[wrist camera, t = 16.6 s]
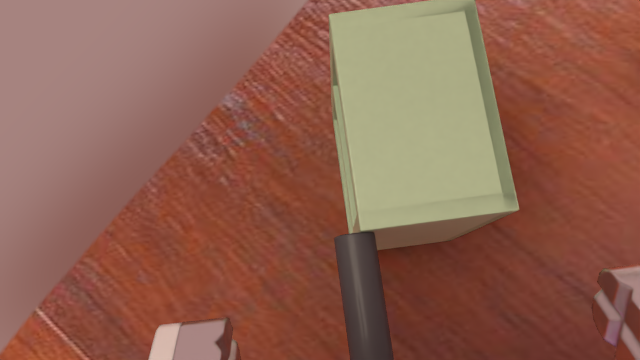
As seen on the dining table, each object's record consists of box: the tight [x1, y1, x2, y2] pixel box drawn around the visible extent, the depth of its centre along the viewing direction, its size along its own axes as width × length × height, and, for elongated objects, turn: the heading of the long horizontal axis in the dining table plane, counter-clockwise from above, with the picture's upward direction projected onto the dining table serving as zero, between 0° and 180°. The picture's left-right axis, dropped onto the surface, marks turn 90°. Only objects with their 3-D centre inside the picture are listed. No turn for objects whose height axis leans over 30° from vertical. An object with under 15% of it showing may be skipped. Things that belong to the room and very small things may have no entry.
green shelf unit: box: [329, 0, 519, 360], centre depth 26 cm, size 7×14×12 cm, turn 7°
